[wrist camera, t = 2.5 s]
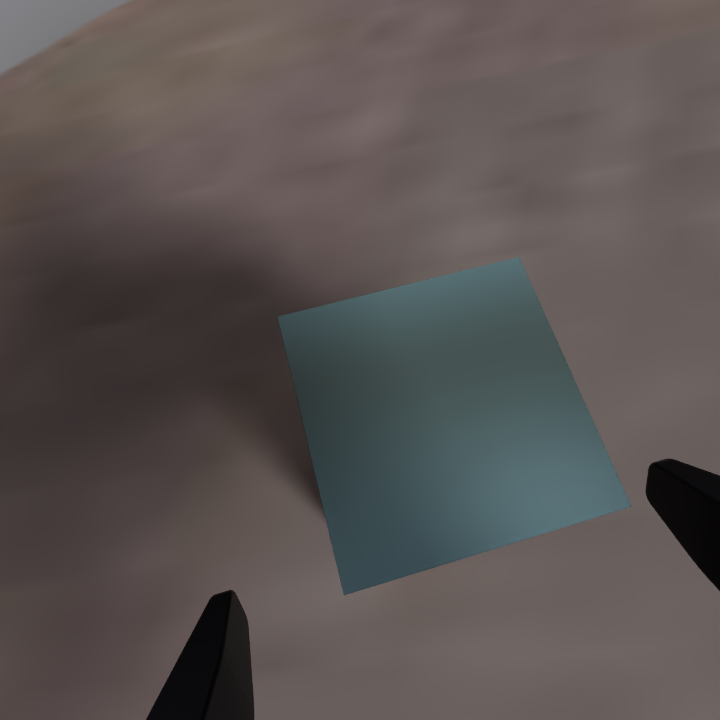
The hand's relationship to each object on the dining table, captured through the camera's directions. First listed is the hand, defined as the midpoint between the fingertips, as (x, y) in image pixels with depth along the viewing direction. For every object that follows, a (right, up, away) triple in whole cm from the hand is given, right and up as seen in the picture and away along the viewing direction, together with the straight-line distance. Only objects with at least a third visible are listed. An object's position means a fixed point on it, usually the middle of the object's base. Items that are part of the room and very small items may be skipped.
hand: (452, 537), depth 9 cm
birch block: (-1, -1, +10) cm, 10 cm away
